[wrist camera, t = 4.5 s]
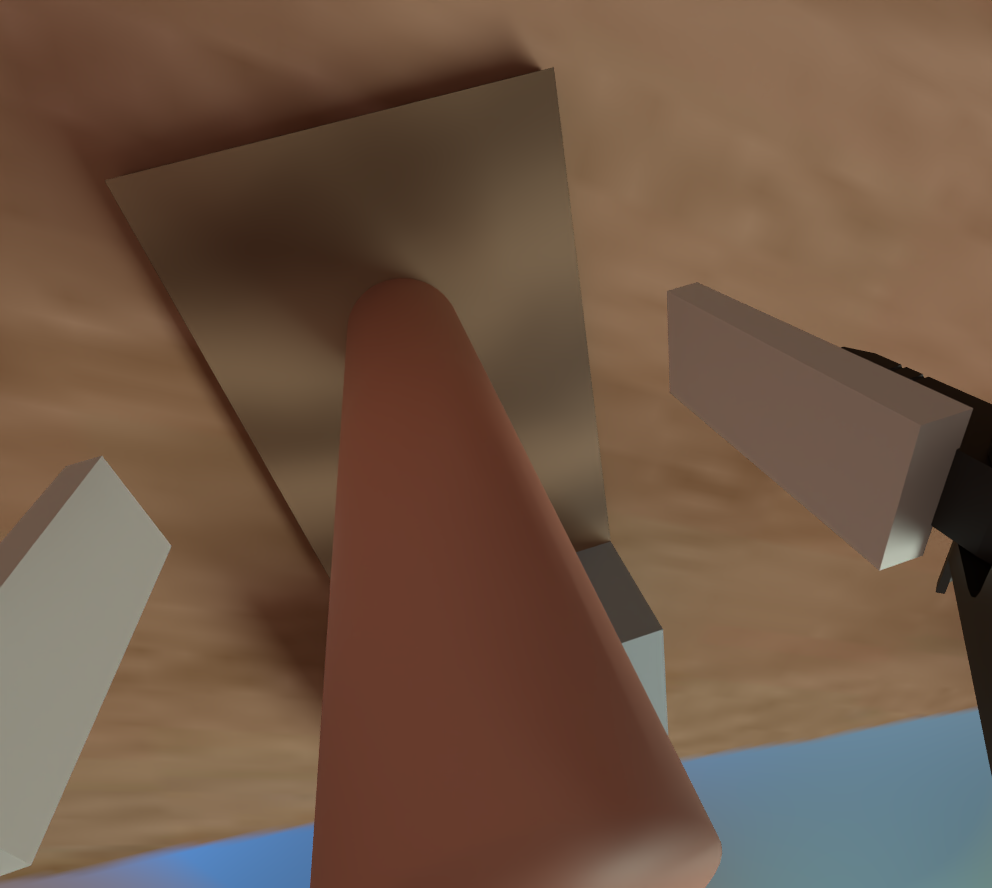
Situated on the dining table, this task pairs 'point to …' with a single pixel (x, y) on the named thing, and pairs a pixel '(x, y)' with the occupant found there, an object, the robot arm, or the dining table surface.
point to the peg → (474, 651)
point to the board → (384, 276)
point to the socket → (630, 620)
